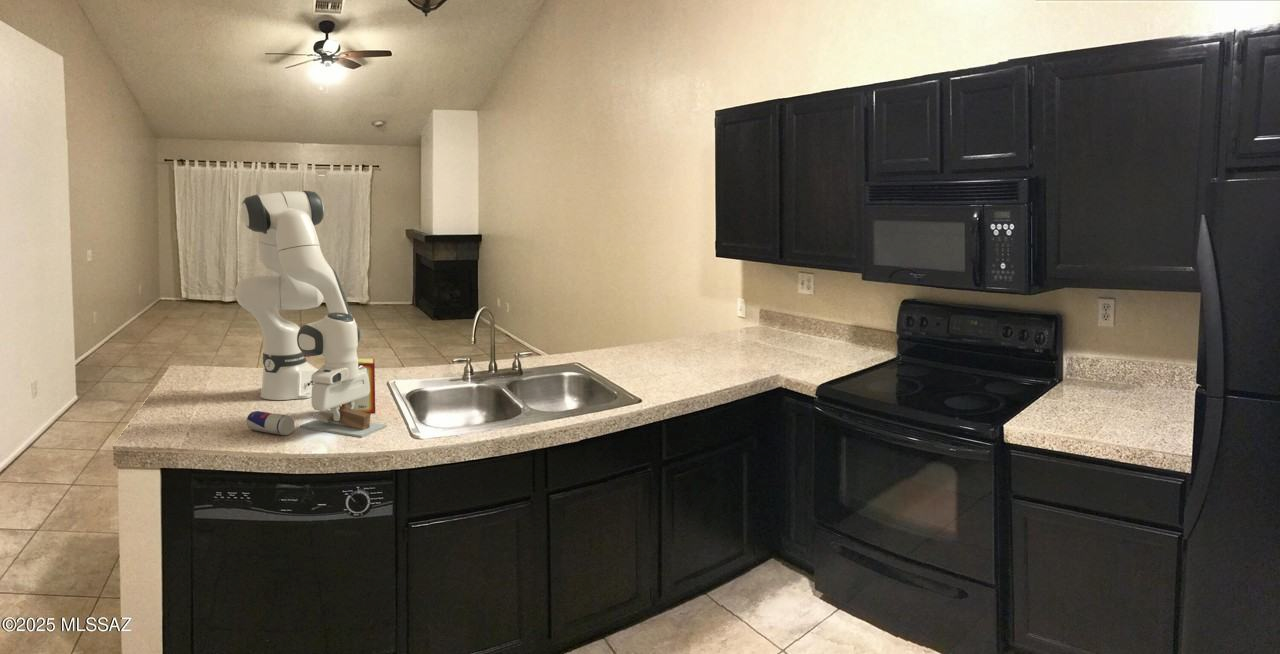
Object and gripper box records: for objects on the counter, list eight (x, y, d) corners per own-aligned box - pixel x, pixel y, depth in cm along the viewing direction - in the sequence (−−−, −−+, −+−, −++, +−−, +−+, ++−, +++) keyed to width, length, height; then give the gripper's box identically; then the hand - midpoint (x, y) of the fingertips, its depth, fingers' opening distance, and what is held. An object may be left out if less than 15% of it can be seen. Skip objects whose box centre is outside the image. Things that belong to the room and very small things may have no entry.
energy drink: (283, 414, 207) (248, 409, 210) (278, 434, 205) (243, 428, 209) (297, 417, 212) (263, 412, 215) (292, 436, 210) (257, 431, 214)
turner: (327, 412, 223) (328, 399, 222) (373, 426, 218) (374, 412, 217) (312, 418, 217) (313, 404, 216) (359, 431, 212) (360, 418, 212)
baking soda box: (341, 415, 230) (340, 362, 227) (342, 409, 236) (341, 358, 233) (375, 413, 233) (374, 361, 230) (375, 407, 239) (374, 357, 236)
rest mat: (326, 417, 226) (326, 415, 226) (386, 426, 220) (386, 424, 220) (299, 427, 216) (299, 425, 216) (361, 437, 210) (361, 435, 209)
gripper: (357, 362, 226) (358, 408, 228) (306, 376, 207) (308, 426, 209) (375, 365, 224) (375, 410, 226) (325, 379, 205) (327, 429, 207)
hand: (342, 418), depth 217 cm, fingers closed on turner, 3 cm apart
